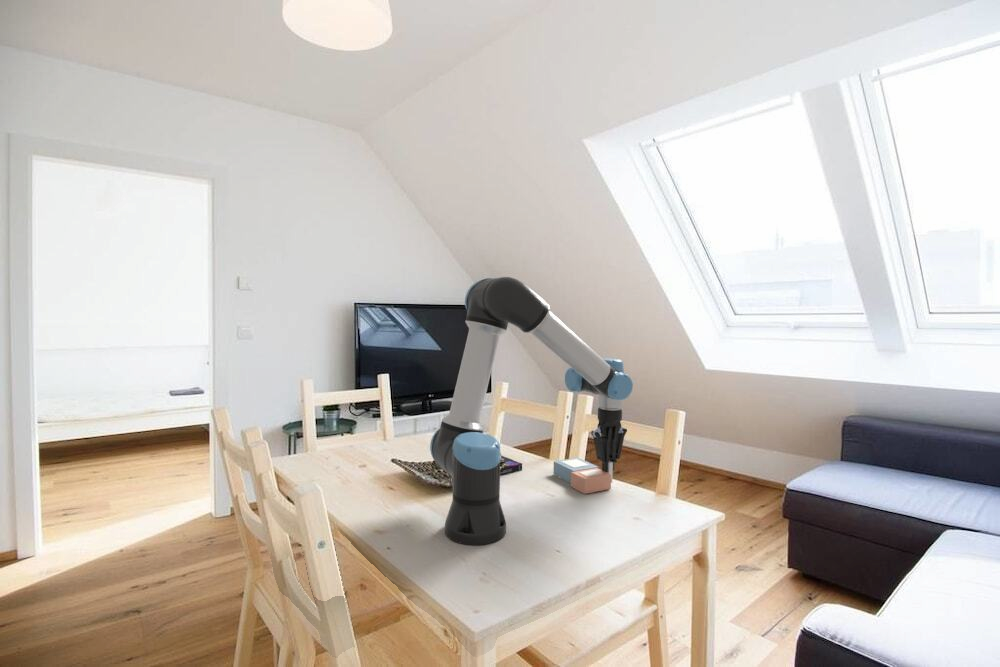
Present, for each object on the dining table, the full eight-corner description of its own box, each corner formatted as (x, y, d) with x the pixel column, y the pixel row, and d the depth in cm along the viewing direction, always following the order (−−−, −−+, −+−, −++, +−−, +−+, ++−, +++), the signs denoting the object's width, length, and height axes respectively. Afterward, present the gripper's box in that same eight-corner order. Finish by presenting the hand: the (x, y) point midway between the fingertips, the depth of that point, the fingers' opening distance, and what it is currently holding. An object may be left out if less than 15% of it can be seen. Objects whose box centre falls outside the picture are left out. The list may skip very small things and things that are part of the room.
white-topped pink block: (610, 488, 154) (611, 473, 154) (584, 493, 150) (585, 478, 150) (596, 481, 161) (596, 467, 160) (570, 486, 156) (571, 471, 156)
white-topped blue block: (599, 481, 162) (600, 467, 162) (574, 485, 157) (575, 471, 157) (577, 470, 173) (577, 457, 172) (553, 474, 168) (553, 460, 168)
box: (476, 484, 159) (522, 472, 171) (476, 474, 159) (523, 462, 171) (452, 472, 170) (497, 461, 182) (452, 462, 170) (497, 451, 182)
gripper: (617, 404, 164) (615, 475, 165) (586, 407, 157) (583, 480, 159) (634, 408, 157) (631, 482, 158) (601, 411, 151) (599, 488, 152)
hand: (607, 481), depth 158 cm, fingers closed
